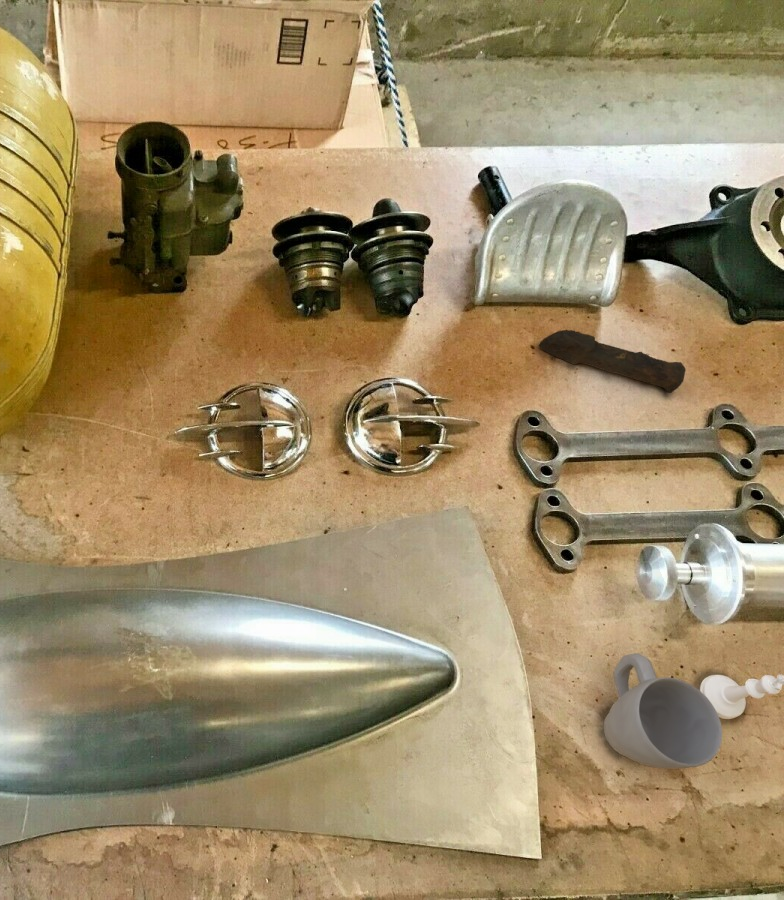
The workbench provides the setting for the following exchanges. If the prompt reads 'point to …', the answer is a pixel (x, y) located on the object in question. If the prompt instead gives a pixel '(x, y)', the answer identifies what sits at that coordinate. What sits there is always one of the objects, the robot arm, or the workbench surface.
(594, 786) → the workbench surface
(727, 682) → the chess piece
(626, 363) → the hand tool
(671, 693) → the mug
